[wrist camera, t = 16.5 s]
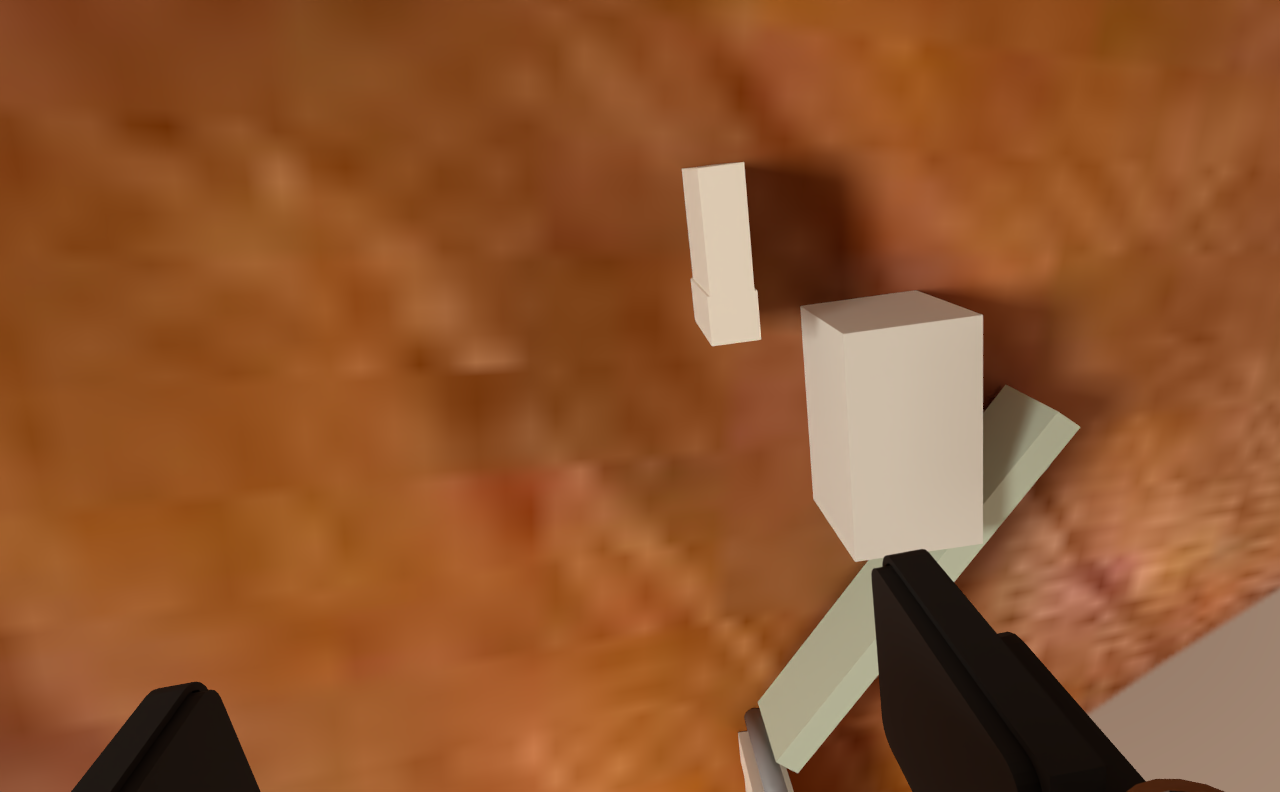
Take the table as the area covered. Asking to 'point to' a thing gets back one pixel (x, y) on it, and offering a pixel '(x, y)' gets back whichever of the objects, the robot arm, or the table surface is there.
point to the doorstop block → (896, 421)
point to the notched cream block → (724, 297)
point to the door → (846, 636)
